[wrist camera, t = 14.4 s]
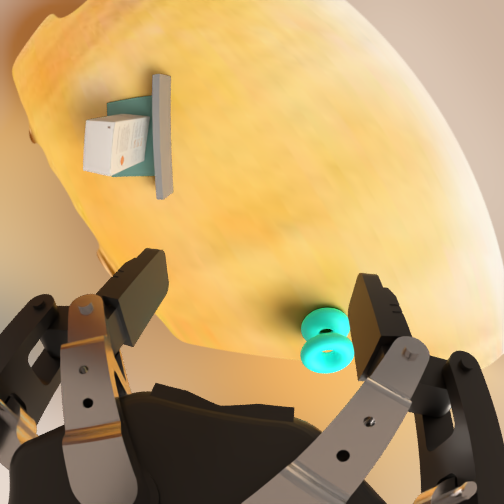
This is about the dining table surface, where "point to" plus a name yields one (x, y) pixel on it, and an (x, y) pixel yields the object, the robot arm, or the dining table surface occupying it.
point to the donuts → (326, 341)
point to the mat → (145, 109)
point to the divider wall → (162, 134)
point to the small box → (114, 143)
